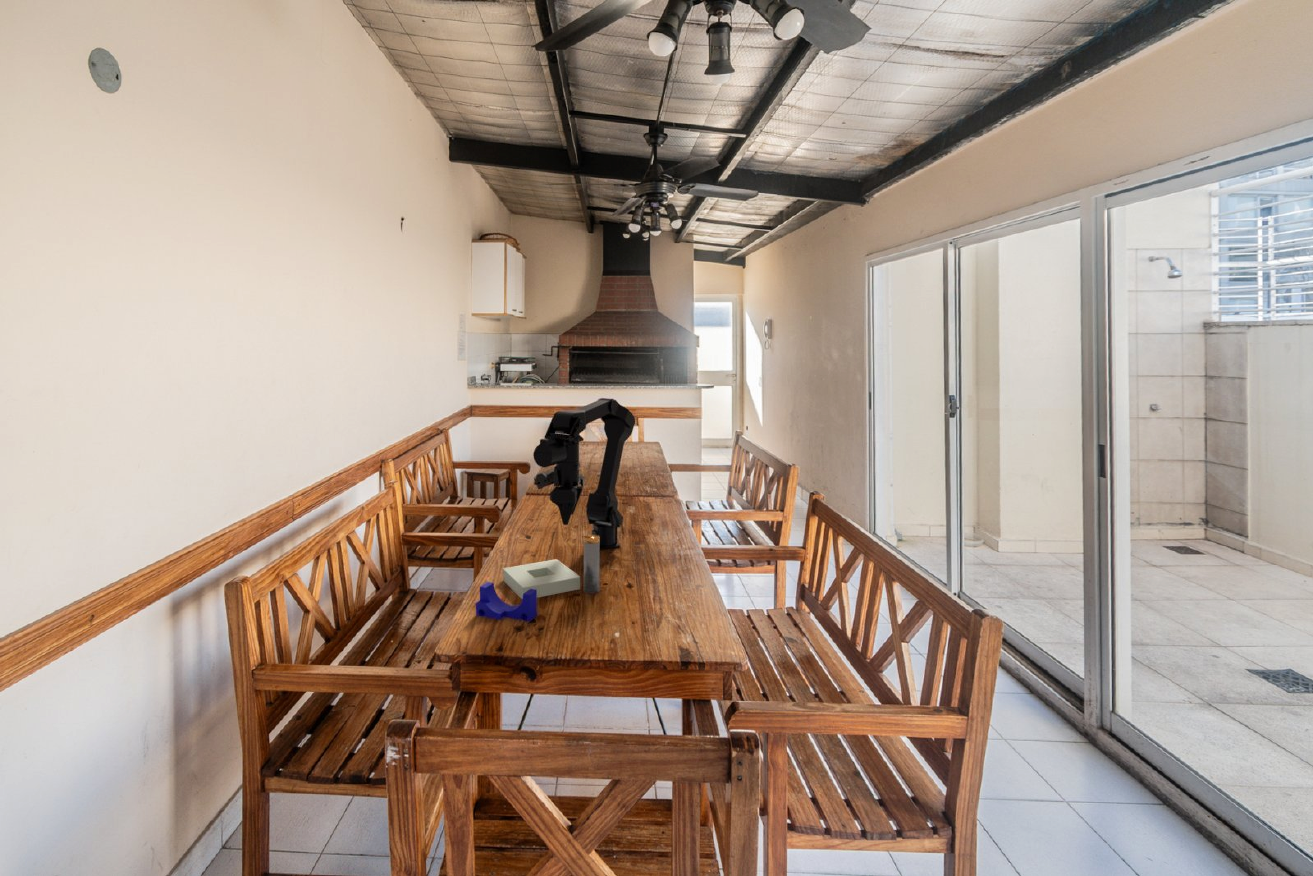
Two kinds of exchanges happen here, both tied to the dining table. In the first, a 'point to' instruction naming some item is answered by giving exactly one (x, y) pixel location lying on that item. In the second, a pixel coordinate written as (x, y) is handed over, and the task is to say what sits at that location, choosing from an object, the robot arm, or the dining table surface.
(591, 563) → the steel pin
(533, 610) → the blue cradle bracket
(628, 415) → the robot arm
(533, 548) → the dining table surface
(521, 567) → the block
